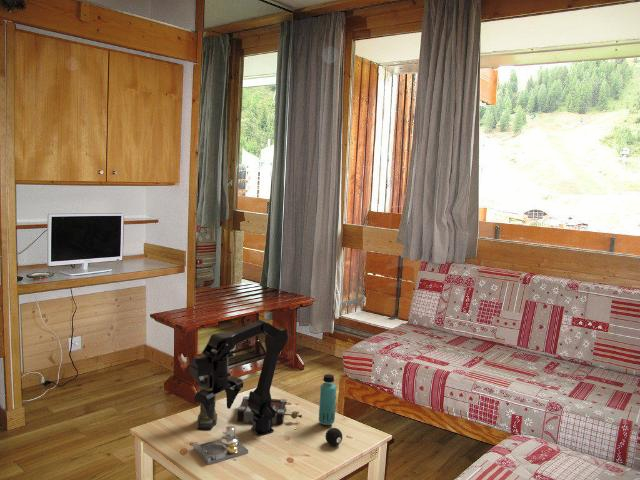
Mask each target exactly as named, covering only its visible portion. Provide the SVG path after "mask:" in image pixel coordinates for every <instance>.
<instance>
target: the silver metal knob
mask: <svg viewBox="0 0 640 480" xmlns="http://www.w3.org/2000/svg"><path fill="white" fill-rule="evenodd" d="M221 439H222V441H221V443H222V444H225V445H226V446H229V445H230V444H231V443H234V444H235V445H237V444H238V443H239V442H240V439H239V436H238V435H236V427H235V426H234V425H227V426H226V427H225V435H223V436H222V437H221Z"/></svg>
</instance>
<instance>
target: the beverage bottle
mask: <svg viewBox="0 0 640 480" xmlns="http://www.w3.org/2000/svg"><path fill="white" fill-rule="evenodd" d="M322 380H323V383H322V384H321V385H320V386H319V387H320V392H319V408H318V422H319V423H320V424H322V425H329V426H330V425H333V424H334V422H335V418H336V399H337V386H336V385H335V383H333V382H335V376H334V375H333V374H332V373H331V374H329V373H327V374H324V375H323V379H322Z"/></svg>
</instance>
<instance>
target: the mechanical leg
mask: <svg viewBox="0 0 640 480" xmlns="http://www.w3.org/2000/svg"><path fill="white" fill-rule="evenodd" d="M211 351H212V352H214V353H217V352H216V351H214V350H211ZM203 389H204V390H207V391H211V390H212V389H211V388H210V389H209V388H207V386H203V387H200V386H199V391H201V390H203ZM216 399H217V395H215V399H214V402H215V403H216V402H217V401H216ZM199 407H200V408H199V409H200V410H199V413H198V415H197V430H198V431H212V429H213V428H214V426H215V425H217V422H218V421H217V420H218V413H217V411H216V405H215V406H214V410H213V415H212V418H211V419H210V418H209V417H208V415H207V412H206V410H205V408H204V406H203V404H202V403H199Z"/></svg>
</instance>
